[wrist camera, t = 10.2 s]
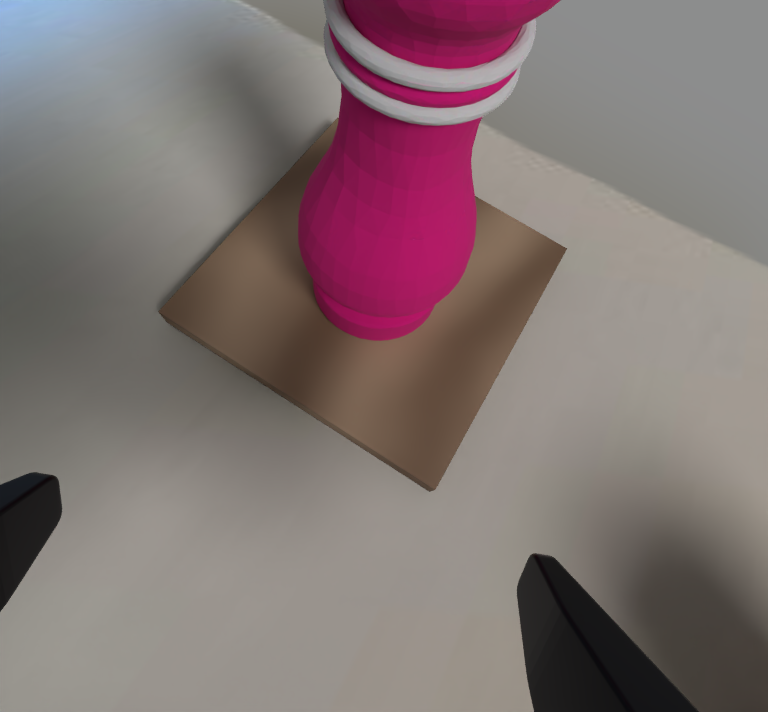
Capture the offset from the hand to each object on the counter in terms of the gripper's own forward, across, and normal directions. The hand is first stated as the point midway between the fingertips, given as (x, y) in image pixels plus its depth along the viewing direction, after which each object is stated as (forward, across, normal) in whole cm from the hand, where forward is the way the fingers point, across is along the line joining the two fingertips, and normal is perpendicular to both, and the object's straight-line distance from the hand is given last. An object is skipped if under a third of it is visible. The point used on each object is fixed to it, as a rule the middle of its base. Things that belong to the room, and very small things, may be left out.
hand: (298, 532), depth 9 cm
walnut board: (+17, -1, 0) cm, 17 cm away
